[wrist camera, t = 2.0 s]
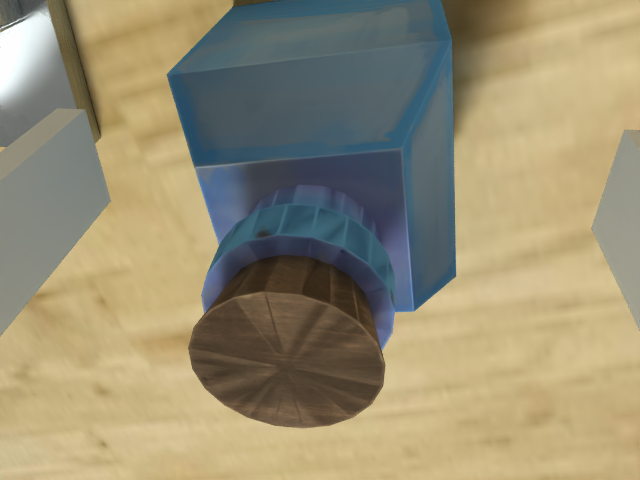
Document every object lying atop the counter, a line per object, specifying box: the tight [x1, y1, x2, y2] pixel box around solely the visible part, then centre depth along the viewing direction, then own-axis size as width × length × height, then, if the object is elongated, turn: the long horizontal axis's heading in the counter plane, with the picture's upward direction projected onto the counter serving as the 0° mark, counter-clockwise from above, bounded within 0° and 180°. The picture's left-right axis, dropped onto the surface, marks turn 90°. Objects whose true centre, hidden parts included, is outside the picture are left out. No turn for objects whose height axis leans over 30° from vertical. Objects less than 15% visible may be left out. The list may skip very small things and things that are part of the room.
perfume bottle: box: [167, 0, 456, 428], centre depth 14 cm, size 6×6×12 cm
